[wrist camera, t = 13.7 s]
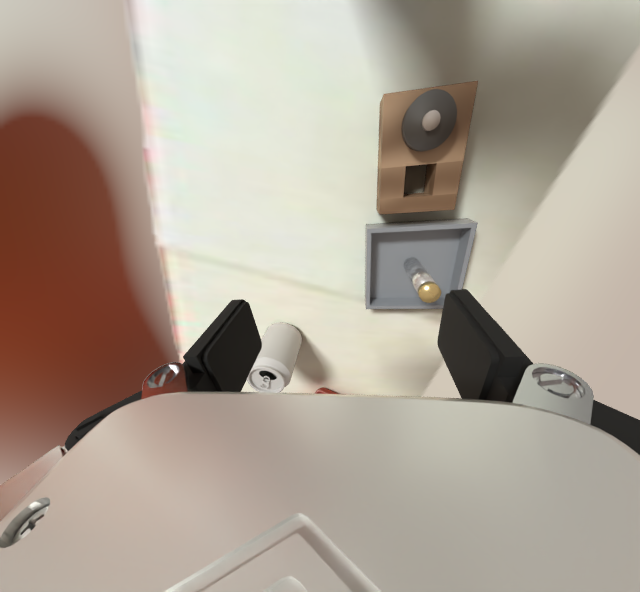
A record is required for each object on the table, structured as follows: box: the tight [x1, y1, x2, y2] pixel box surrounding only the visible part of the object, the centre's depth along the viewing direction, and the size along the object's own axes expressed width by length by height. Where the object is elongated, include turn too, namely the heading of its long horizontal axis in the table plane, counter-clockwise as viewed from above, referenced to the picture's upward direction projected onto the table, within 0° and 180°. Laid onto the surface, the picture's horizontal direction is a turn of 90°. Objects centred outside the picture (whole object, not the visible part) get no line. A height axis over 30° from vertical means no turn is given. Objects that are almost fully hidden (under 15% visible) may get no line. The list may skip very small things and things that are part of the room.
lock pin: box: [404, 257, 441, 303], centre depth 31 cm, size 2×2×10 cm
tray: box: [365, 218, 477, 309], centre depth 35 cm, size 13×14×3 cm
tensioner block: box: [377, 81, 478, 214], centre depth 27 cm, size 12×9×6 cm
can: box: [247, 322, 302, 393], centre depth 41 cm, size 8×8×12 cm
